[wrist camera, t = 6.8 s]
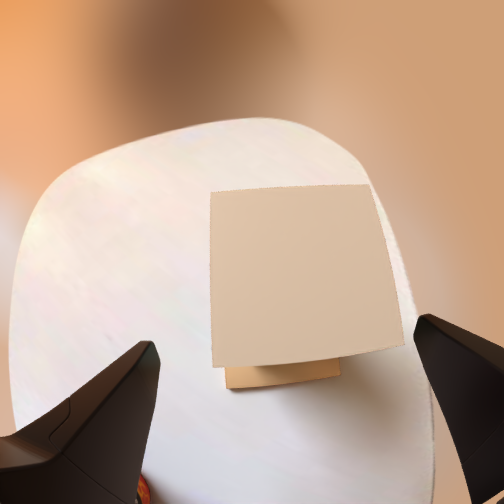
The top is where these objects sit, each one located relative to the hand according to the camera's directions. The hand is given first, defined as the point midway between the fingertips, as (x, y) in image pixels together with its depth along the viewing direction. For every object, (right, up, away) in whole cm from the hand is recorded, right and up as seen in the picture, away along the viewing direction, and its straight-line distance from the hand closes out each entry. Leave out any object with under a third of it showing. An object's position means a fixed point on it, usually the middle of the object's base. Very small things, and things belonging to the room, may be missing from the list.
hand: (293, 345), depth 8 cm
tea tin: (+1, -2, +11) cm, 11 cm away
